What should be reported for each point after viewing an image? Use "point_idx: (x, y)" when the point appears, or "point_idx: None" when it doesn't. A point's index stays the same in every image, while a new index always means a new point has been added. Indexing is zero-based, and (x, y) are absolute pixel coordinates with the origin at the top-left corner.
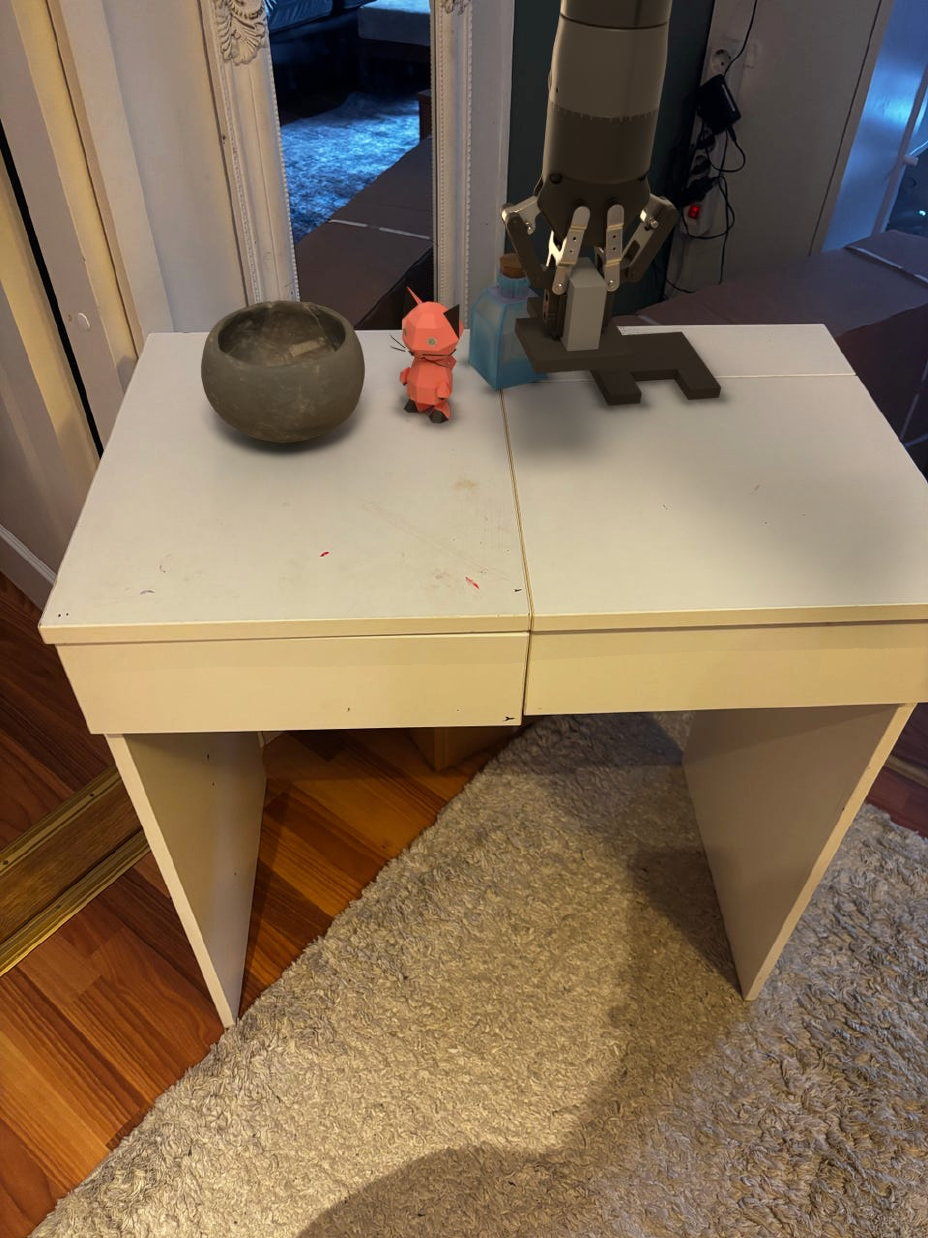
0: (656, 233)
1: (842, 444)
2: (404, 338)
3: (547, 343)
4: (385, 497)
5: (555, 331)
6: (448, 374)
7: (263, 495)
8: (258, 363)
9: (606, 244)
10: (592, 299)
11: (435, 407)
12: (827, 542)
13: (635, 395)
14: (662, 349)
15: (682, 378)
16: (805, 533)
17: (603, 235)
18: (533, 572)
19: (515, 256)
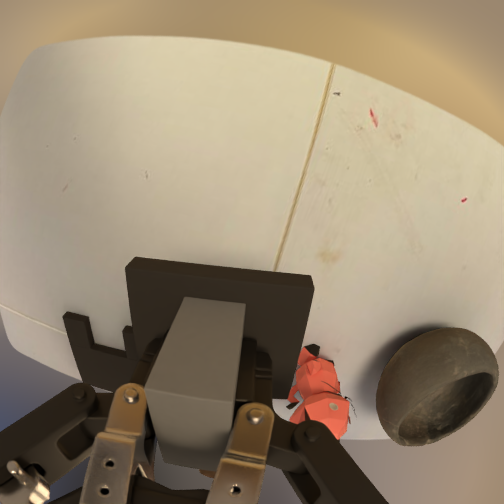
0: (15, 448)
1: (5, 230)
2: (348, 414)
3: (270, 333)
4: (401, 257)
5: (256, 347)
6: (305, 382)
7: (470, 281)
8: (427, 404)
9: (129, 480)
10: (186, 369)
11: (314, 358)
12: (46, 110)
13: (128, 331)
14: (98, 371)
15: (88, 337)
16: (54, 122)
17: (134, 502)
18: (313, 111)
19: (212, 475)
